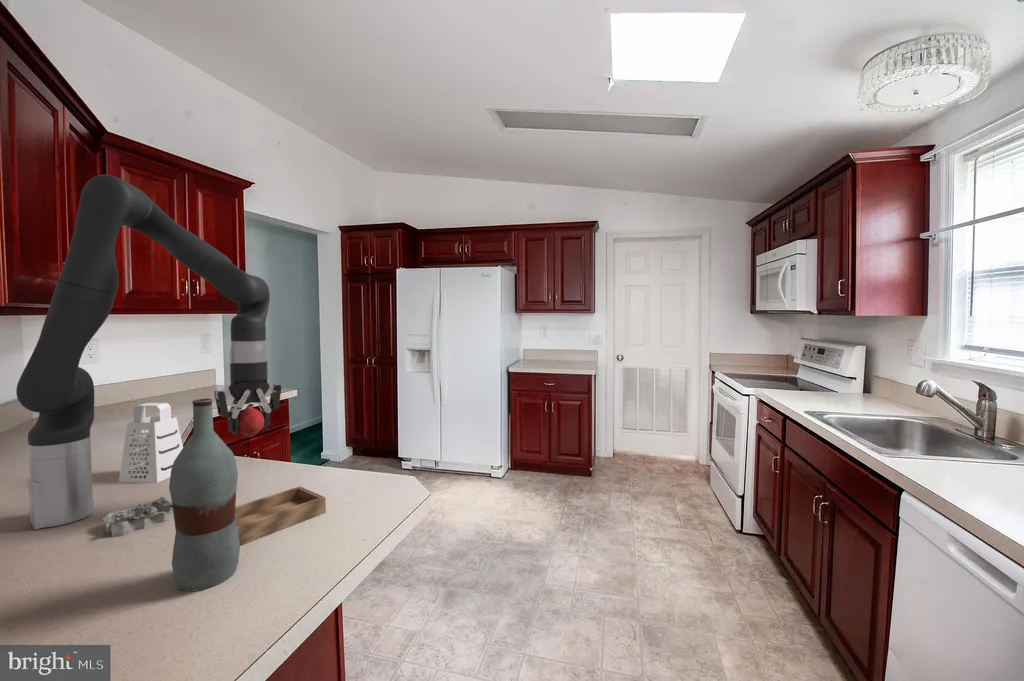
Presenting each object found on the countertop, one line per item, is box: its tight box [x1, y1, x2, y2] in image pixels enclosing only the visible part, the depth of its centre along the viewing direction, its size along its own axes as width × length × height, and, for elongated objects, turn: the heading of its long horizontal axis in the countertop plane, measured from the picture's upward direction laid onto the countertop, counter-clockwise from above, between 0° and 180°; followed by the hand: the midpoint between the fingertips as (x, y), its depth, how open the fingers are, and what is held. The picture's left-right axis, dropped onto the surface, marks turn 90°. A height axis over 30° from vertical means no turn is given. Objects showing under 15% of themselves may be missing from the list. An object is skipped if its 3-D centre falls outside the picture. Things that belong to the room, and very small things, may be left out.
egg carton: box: [102, 496, 174, 538], centre depth 91 cm, size 11×8×4 cm
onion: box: [237, 403, 264, 438], centre depth 101 cm, size 6×6×8 cm
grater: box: [118, 402, 184, 484], centre depth 119 cm, size 10×10×20 cm
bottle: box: [168, 397, 241, 592], centre depth 71 cm, size 9×9×30 cm
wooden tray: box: [235, 486, 327, 546], centre depth 91 cm, size 20×11×4 cm, turn 144°
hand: (250, 430), depth 101 cm, fingers closed on onion, 6 cm apart
